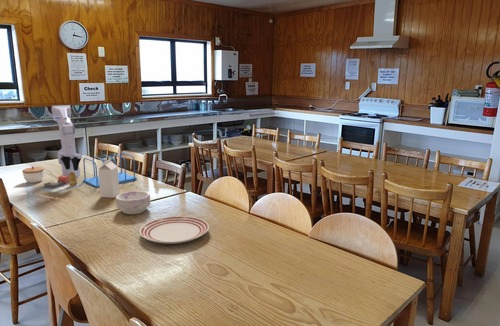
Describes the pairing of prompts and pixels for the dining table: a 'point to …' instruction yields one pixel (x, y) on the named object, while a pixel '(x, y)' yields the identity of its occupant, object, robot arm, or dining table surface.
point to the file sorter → (121, 176)
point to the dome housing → (53, 184)
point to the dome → (53, 181)
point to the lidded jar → (33, 174)
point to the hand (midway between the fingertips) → (71, 169)
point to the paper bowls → (133, 202)
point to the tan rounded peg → (72, 178)
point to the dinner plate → (174, 229)
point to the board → (60, 188)
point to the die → (64, 179)
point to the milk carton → (108, 179)
